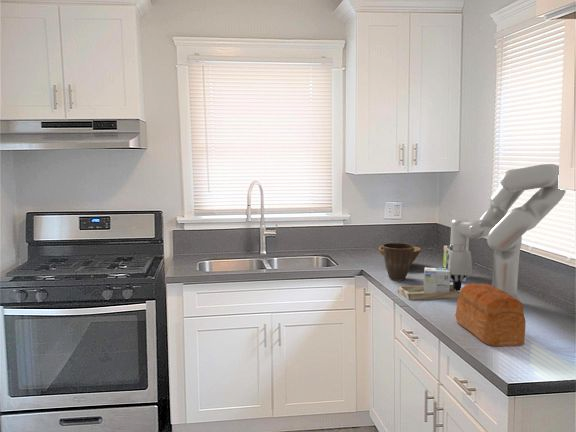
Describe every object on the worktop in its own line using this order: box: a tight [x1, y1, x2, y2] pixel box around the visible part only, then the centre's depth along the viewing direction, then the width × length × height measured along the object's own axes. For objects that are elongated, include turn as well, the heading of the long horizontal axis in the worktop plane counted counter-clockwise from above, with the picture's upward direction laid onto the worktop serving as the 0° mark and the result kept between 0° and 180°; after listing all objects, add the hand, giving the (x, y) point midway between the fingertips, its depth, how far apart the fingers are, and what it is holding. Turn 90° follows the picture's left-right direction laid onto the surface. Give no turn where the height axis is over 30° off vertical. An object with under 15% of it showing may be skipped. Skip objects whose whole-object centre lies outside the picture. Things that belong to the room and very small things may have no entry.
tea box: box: [442, 245, 467, 282], centre depth 261 cm, size 15×10×15 cm
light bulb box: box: [423, 266, 451, 293], centre depth 230 cm, size 11×7×11 cm, turn 75°
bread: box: [454, 282, 526, 347], centre depth 182 cm, size 14×27×15 cm, turn 6°
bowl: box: [378, 245, 421, 264], centre depth 285 cm, size 22×23×10 cm
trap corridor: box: [397, 284, 460, 301], centre depth 230 cm, size 12×26×2 cm, turn 100°
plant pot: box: [382, 242, 415, 281], centre depth 258 cm, size 15×15×16 cm
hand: (456, 289), depth 232 cm, fingers closed
